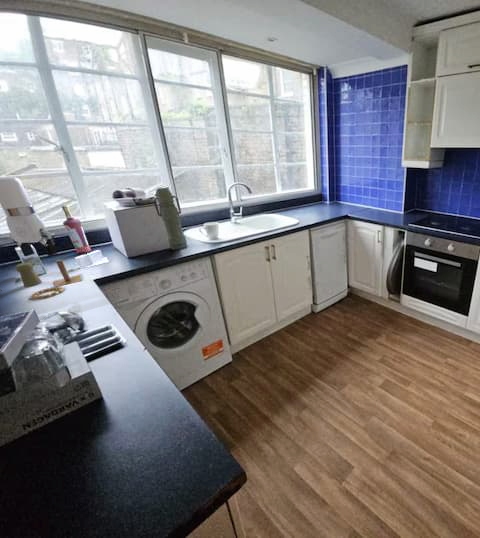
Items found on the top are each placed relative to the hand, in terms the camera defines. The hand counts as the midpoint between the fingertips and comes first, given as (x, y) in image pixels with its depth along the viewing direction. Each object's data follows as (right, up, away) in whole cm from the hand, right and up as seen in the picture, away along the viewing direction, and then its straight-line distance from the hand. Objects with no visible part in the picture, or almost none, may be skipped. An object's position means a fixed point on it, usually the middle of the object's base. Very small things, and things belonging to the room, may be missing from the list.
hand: (41, 254), depth 116 cm
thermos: (+16, +7, +63) cm, 65 cm away
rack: (-8, -12, +19) cm, 24 cm away
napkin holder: (-19, -3, +42) cm, 46 cm away
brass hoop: (-5, -16, +7) cm, 18 cm away
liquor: (-38, +4, +59) cm, 70 cm away
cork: (-22, -14, +17) cm, 31 cm away
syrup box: (-34, -8, +30) cm, 46 cm away
